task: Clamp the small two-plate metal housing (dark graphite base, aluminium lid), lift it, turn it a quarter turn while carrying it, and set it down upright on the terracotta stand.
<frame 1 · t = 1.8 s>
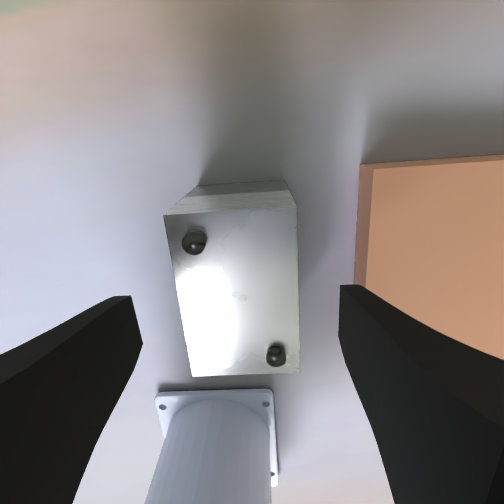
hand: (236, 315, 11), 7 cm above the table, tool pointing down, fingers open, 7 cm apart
stand: (465, 259, 17), on the table
housing: (245, 245, 17), on the table
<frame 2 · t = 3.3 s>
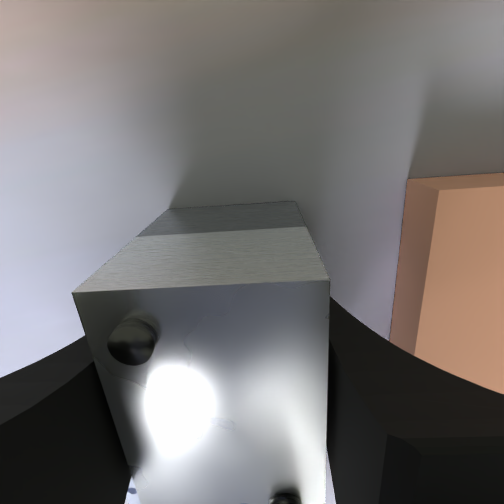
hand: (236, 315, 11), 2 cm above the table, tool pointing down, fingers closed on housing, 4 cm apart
housing: (239, 292, 12), on the table, touching gripper
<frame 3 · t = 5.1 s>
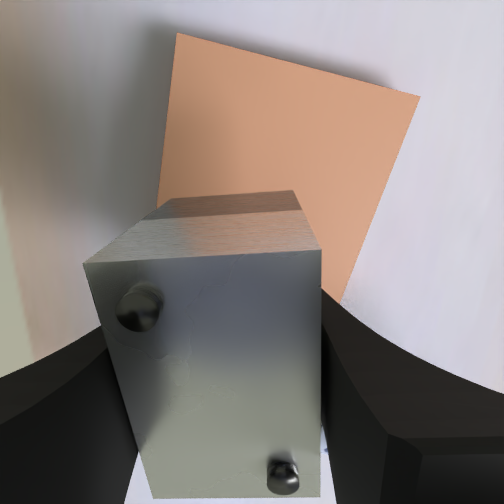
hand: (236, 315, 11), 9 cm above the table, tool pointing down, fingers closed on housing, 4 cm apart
stand: (267, 190, 18), on the table
housing: (239, 279, 13), point 6 cm above the table, touching gripper
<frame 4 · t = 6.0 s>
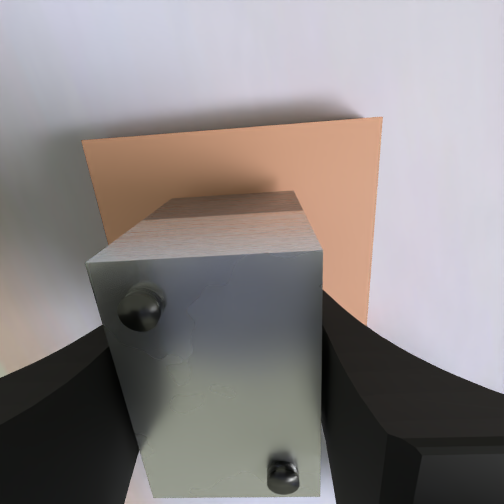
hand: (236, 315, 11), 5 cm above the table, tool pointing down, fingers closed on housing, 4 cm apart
stand: (244, 259, 15), on the table
housing: (240, 279, 13), point 3 cm above the table, touching gripper
when the fingers open (5 cm above the table, at t = 6.8 s): housing stays where it is, resting on stand.
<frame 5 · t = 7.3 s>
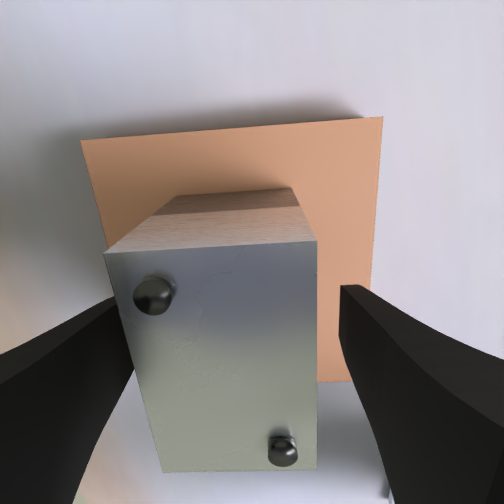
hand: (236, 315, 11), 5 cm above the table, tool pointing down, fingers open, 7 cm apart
stand: (244, 259, 15), on the table
housing: (241, 273, 13), point 2 cm above the table, touching stand
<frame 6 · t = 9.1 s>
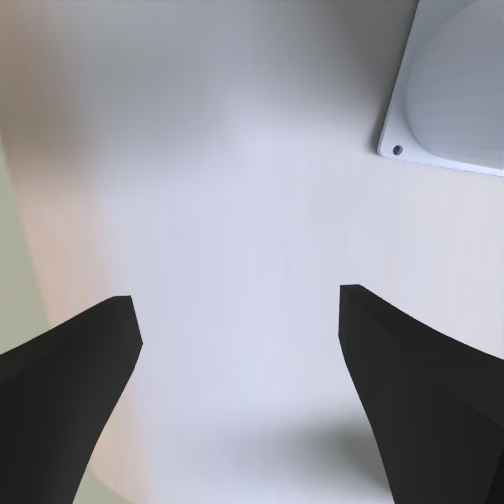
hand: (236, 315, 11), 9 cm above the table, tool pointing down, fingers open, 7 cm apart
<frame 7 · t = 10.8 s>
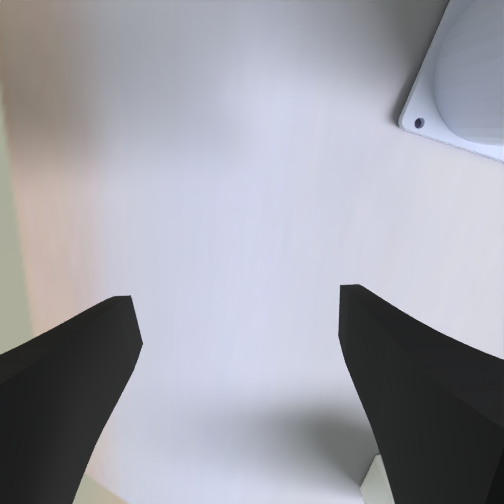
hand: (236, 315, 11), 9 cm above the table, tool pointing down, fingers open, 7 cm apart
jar: (408, 474, 28), on the table
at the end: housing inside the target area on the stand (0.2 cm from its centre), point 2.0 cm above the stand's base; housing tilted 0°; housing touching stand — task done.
